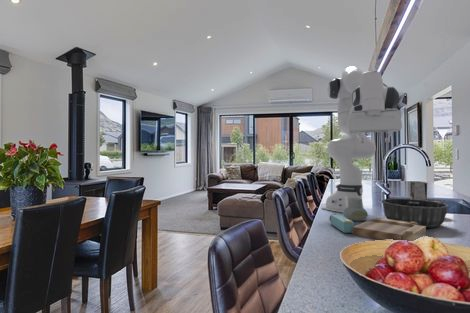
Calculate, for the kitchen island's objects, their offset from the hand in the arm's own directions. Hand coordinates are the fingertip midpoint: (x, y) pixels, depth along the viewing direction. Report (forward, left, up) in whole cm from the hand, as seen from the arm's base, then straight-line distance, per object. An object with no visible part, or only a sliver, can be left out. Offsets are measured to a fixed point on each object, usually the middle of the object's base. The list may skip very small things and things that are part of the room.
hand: (374, 142), depth 136 cm
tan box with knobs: (+6, +3, -36) cm, 37 cm away
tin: (+9, +52, -36) cm, 64 cm away
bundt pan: (+7, +30, -36) cm, 48 cm away
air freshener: (-16, +21, -36) cm, 45 cm away
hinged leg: (-13, -1, -36) cm, 38 cm away
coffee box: (0, +63, -36) cm, 73 cm away
